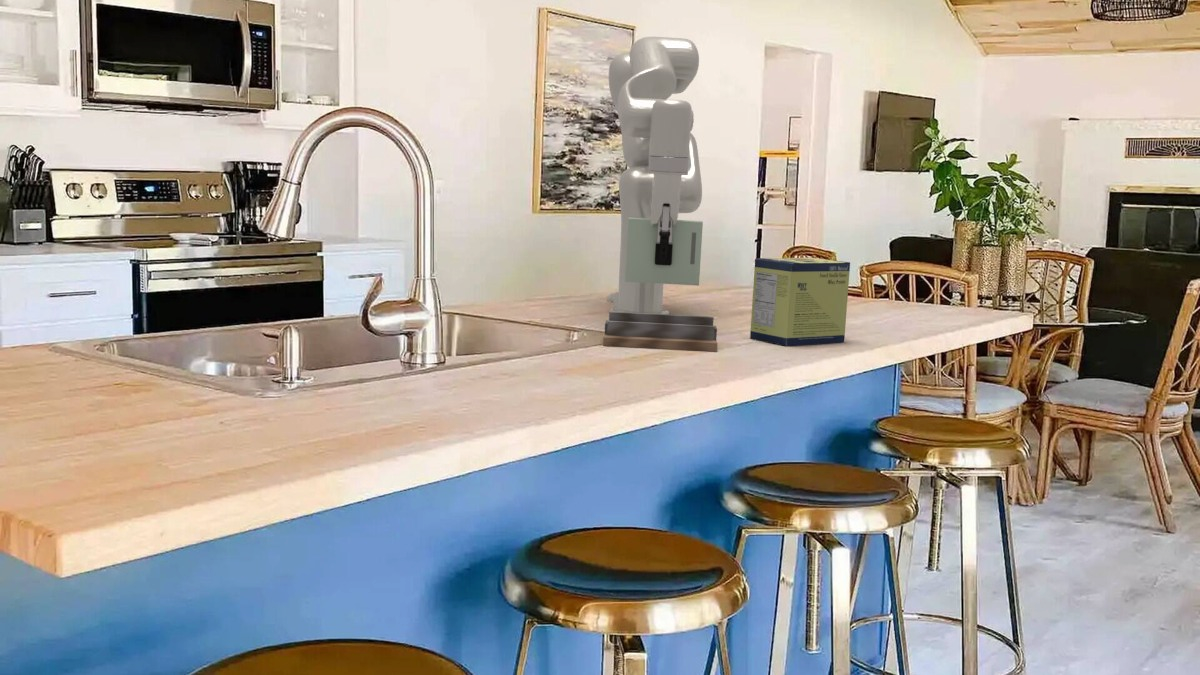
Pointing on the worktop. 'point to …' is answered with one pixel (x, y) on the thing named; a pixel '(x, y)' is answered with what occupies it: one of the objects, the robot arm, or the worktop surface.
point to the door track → (660, 331)
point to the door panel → (683, 253)
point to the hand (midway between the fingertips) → (663, 262)
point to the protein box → (799, 301)
